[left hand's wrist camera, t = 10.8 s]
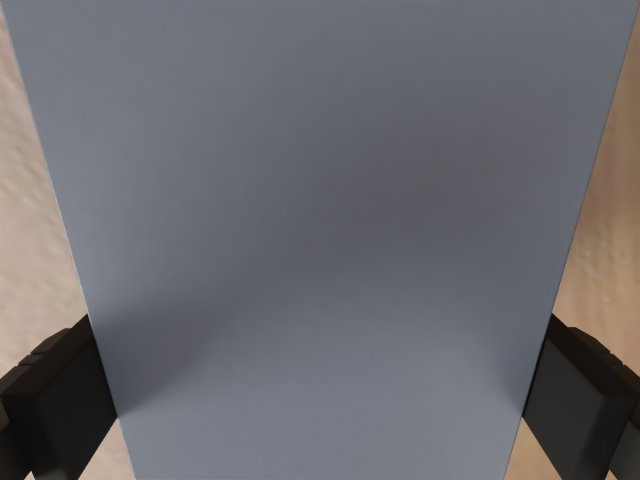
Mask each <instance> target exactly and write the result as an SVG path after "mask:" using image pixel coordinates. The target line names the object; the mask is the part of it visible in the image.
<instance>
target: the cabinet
mask: <svg viewBox="0 0 640 480" xmlns="http://www.w3.org/2000/svg"><path fill="white" fill-rule="evenodd" d="M639 5H640V0H0V8H1V11H2V15H3V18H4V22H5V25H6V29H7V32H8V36H9V39H10V43H11V46H12V50H13V53H14V57H15V60H16V64H17V67H18V71H19V74H20V78H21V81H22V85H23V88H24V92H25V95H26V99H27V102H28V106H29V109H30V113H31V116H32V120H33V123H34V127H35V130H36V134H37V137H38V141H39V144H40V148H41V151H42V155H43V158H44V162H45V166H46V169H47V173H48V176H49V180H50V183H51V187H52V190H53V194H54V197H55V201H56V204H57V208H58V211H59V215H60V218H61V222H62V225H63V229H64V232H65V236H66V239H67V243H68V246H69V250H70V253H71V257H72V260H73V264H74V267H75V271H76V274H77V278H78V281H79V285H80V288H81V292H82V295H83V299H84V302H85V306H86V309H87V313H88V316H89V320H90V324H91V327H92V331H93V334H94V338H95V341H96V345H97V348H98V352H99V355H100V359H101V362H102V366H103V369H104V373H105V376H106V380H107V383H108V387H109V390H110V394H111V397H112V401H113V404H114V408H115V411H116V415H117V418H118V422H119V425H120V429H121V432H122V436H123V439H124V443H125V446H126V450H127V453H128V457H129V460H130V464H131V467H132V471H133V474H134V478H135V479H136V480H504V478H505V474H506V471H507V467H508V464H509V460H510V457H511V453H512V450H513V446H514V443H515V439H516V436H517V432H518V429H519V425H520V422H521V418H522V415H523V411H524V408H525V404H526V401H527V397H528V394H529V390H530V387H531V383H532V380H533V376H534V373H535V369H536V366H537V362H538V359H539V355H540V352H541V348H542V345H543V341H544V338H545V334H546V331H547V327H548V324H549V320H550V317H551V313H552V310H553V306H554V303H555V299H556V296H557V292H558V289H559V285H560V282H561V278H562V275H563V271H564V268H565V264H566V261H567V257H568V254H569V250H570V247H571V243H572V240H573V236H574V233H575V229H576V226H577V222H578V219H579V215H580V212H581V208H582V205H583V201H584V198H585V194H586V191H587V187H588V184H589V180H590V177H591V173H592V170H593V166H594V163H595V159H596V156H597V152H598V149H599V145H600V142H601V138H602V135H603V131H604V128H605V124H606V121H607V117H608V114H609V110H610V107H611V103H612V100H613V96H614V93H615V89H616V86H617V82H618V79H619V75H620V72H621V68H622V65H623V61H624V58H625V54H626V51H627V47H628V44H629V40H630V37H631V33H632V30H633V26H634V23H635V19H636V16H637V12H638V9H639Z"/></svg>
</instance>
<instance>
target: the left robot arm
mask: <svg viewBox="0 0 640 480" xmlns="http://www.w3.org/2000/svg"><path fill="white" fill-rule="evenodd" d="M30 353H31V354H30V355H27V356H26V357H25V358H24V359H23V360H21V361H20V362H19V363H18V366H15V367H13V368H12V369H11V370H10V371H9V372H8V373H7V374H5V375H4V376H3V377H2V378H1V379H0V480H24V479H25V478H26V476H27V475H28V474H29V473H30V471H32V474H33V476H34V478H35V480H78V479H79V477H80V475H81V474H82V472H83V471H84V469H85V468H86V466H87V464H88V463H89V461H90V460H91V458H92V456H93V455H94V453H95V452H96V450H97V449H98V447H99V445H100V444H101V442H102V441H103V439H104V438H105V436H106V434H107V433H108V431H109V430H110V428H111V427H112V425H113V423H114V422H115V420H116V419H117V415H116V411H115V408H114V404H113V401H112V397H111V394H110V390H109V387H108V383H107V380H106V376H105V373H104V369H103V366H102V362H101V359H100V355H99V352H98V348H97V345H96V341H95V338H94V334H93V331H92V327H91V324H90V320H89V316H88V313H87V314H86V315H85V316H84V317H83V318H82V319H81V320H80V321H79V322H78V323H76V324H75V325H74V326H73V327H72V328H65V329H63V330H61V331H59V332H58V333H56V334H54V335H52V336H51V337H49V338H47V339H45V340H44V341H43V342H42V343H41V344H40V345H38V346H37V347H36V348H35V349H34V350H33V351H32V352H30ZM522 417H523V419H524V420H525V422H526V423H527V425H528V427H529V428H530V430H531V431H532V433H533V434H534V436H535V438H536V439H537V441H538V442H539V444H540V445H541V447H542V449H543V450H544V452H545V453H546V455H547V456H548V458H549V460H550V461H551V463H552V464H553V466H554V468H555V469H556V471H557V472H558V474H559V475H560V477H561V479H562V480H605V478H606V476H607V474H608V471H609V469H610V471H611V472H612V473H613V474H614V476H615V477H616V478H617V479H618V480H640V377H639V376H638V375H637V374H635V373H634V372H633V371H632V370H631V369H630V368H629V367H627V366H626V365H623V363H622V361H621V360H619V359H618V358H617V357H616V356H615V355H614V354H610V351H609V350H608V349H607V348H606V347H605V346H603V345H602V344H601V343H600V342H599V341H598V340H597V339H595V338H594V337H592V336H590V335H588V334H587V333H585V332H583V331H581V330H580V329H578V328H576V327H567V326H566V325H565V324H564V323H562V322H561V321H560V320H559V319H558V318H557V317H556V316H555V315H554V314H553V313H551V317H550V320H549V324H548V327H547V331H546V334H545V338H544V341H543V345H542V348H541V352H540V355H539V359H538V362H537V366H536V369H535V373H534V376H533V380H532V383H531V387H530V390H529V394H528V397H527V401H526V404H525V408H524V411H523V415H522Z"/></svg>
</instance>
